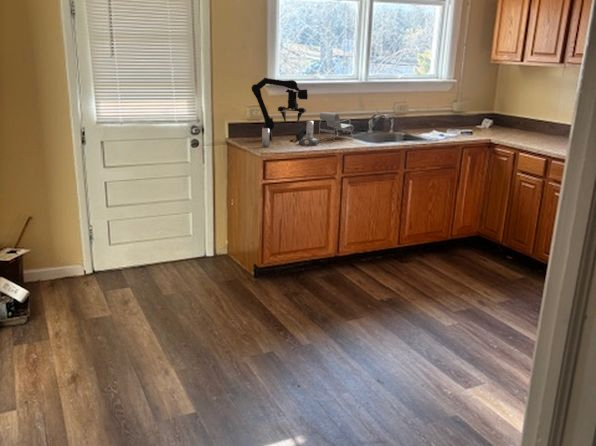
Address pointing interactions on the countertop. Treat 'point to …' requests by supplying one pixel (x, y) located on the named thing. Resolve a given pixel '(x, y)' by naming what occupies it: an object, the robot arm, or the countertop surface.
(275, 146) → the countertop surface
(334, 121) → the chair
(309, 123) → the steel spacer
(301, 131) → the handgun
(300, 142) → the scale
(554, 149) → the countertop surface
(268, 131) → the spacer
